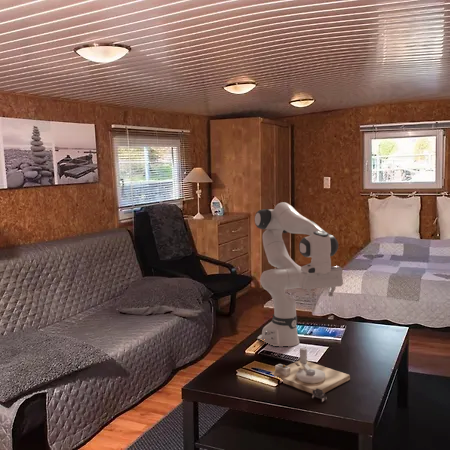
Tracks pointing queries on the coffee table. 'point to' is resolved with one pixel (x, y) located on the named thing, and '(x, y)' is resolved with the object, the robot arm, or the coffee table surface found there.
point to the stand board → (330, 382)
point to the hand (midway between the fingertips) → (321, 297)
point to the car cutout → (319, 394)
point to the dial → (308, 370)
